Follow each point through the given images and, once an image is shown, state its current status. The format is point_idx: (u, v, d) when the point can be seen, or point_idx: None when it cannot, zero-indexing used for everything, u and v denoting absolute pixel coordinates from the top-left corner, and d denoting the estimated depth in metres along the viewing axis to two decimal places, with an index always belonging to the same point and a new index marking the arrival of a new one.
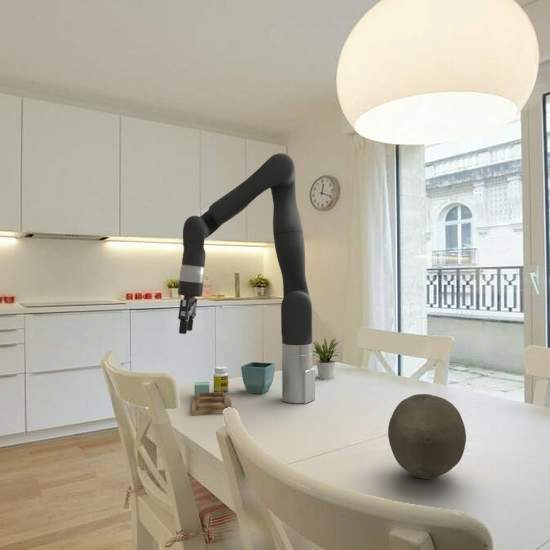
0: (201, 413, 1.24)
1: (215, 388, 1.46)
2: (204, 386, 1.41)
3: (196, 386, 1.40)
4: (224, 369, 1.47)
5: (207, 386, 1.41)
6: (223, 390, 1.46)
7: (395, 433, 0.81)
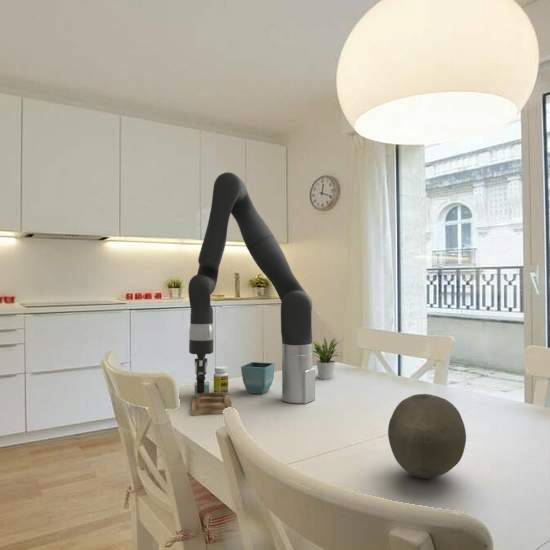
0: (201, 413, 1.24)
1: (215, 388, 1.46)
2: (204, 386, 1.41)
3: (196, 386, 1.40)
4: (224, 369, 1.47)
5: (207, 386, 1.41)
6: (223, 390, 1.46)
7: (395, 433, 0.81)
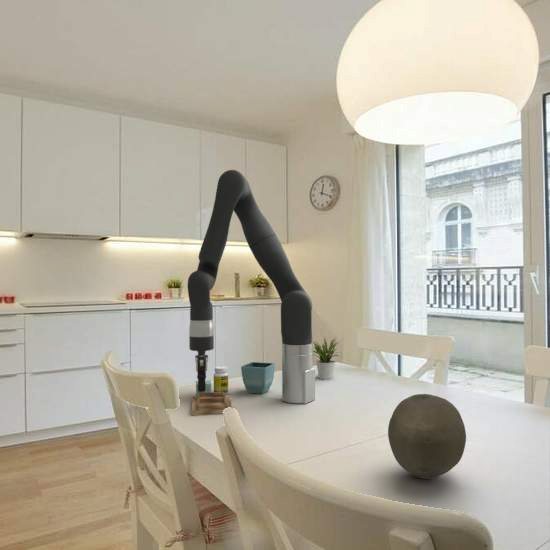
0: (201, 413, 1.24)
1: (215, 388, 1.46)
2: (206, 385, 1.40)
3: None
4: (224, 369, 1.47)
5: (209, 385, 1.40)
6: (223, 390, 1.46)
7: (395, 433, 0.81)
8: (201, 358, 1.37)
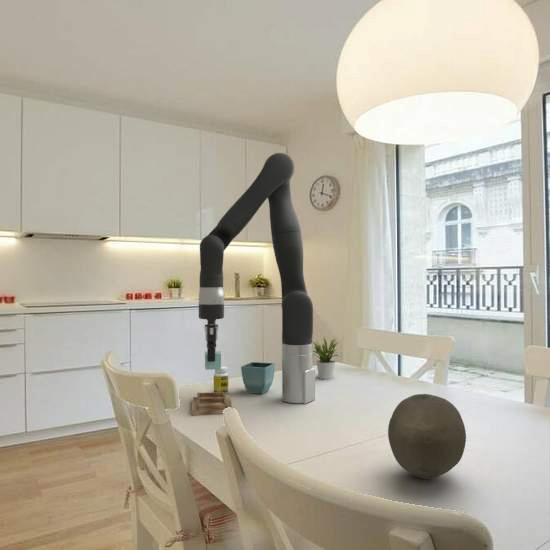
0: (201, 413, 1.24)
1: (215, 388, 1.46)
2: (215, 355, 1.34)
3: (207, 355, 1.33)
4: (224, 369, 1.47)
5: (219, 355, 1.34)
6: (223, 390, 1.46)
7: (395, 433, 0.81)
8: (211, 326, 1.31)
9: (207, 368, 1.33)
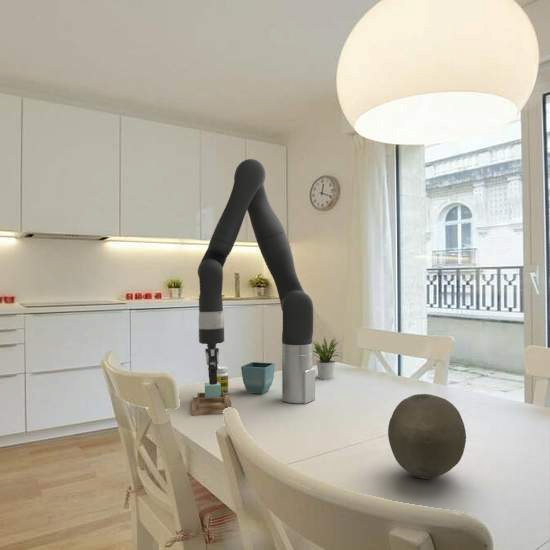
0: (201, 413, 1.24)
1: None
2: (215, 387, 1.34)
3: (207, 387, 1.33)
4: (224, 369, 1.47)
5: (218, 387, 1.34)
6: (223, 390, 1.46)
7: (395, 433, 0.81)
8: None
9: None
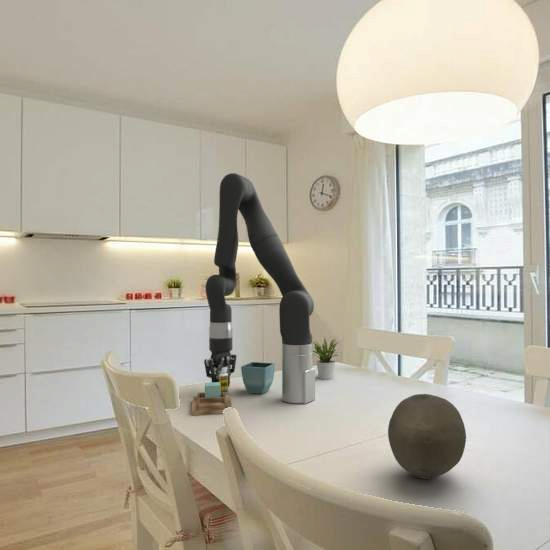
0: (201, 413, 1.24)
1: None
2: (215, 387, 1.34)
3: (207, 387, 1.33)
4: (224, 369, 1.47)
5: (218, 387, 1.34)
6: (223, 390, 1.46)
7: (395, 433, 0.81)
8: (210, 358, 1.44)
9: None
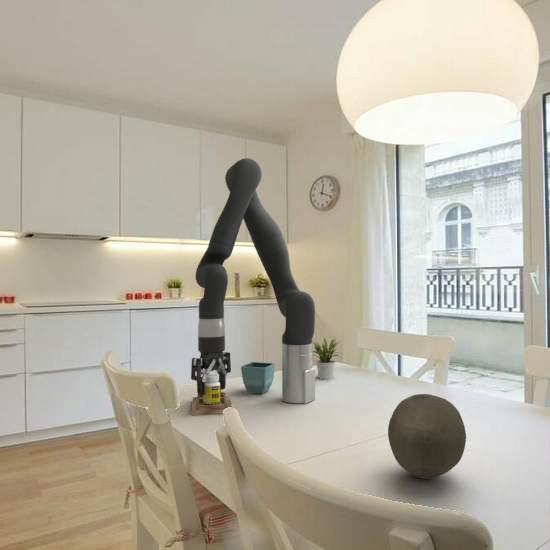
0: (201, 413, 1.24)
1: (205, 400, 1.27)
2: None
3: None
4: (215, 378, 1.27)
5: None
6: (214, 402, 1.27)
7: (395, 433, 0.81)
8: (199, 358, 1.25)
9: None
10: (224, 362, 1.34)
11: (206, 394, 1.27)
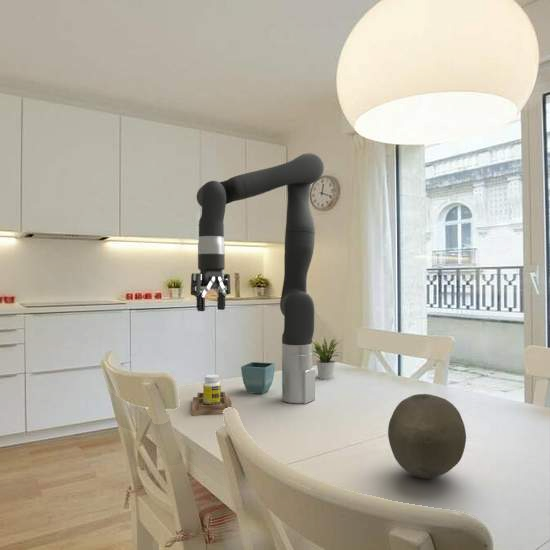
0: (201, 413, 1.24)
1: (205, 400, 1.27)
2: None
3: None
4: (215, 378, 1.27)
5: None
6: (214, 402, 1.27)
7: (395, 433, 0.81)
8: None
9: None
10: (224, 284, 1.34)
11: (206, 394, 1.27)
